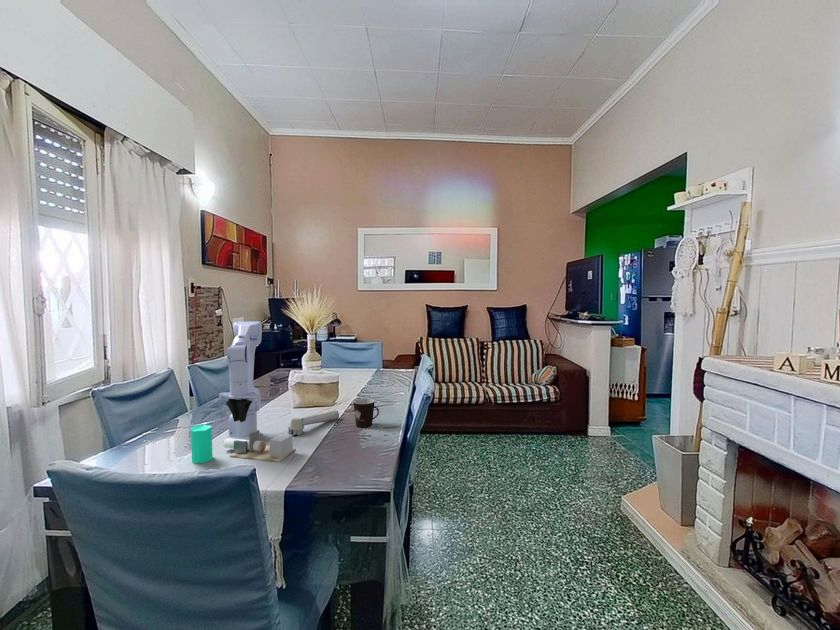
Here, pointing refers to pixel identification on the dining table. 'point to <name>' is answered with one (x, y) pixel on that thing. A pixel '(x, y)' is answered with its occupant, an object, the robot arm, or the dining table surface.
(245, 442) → the grey parallel plates
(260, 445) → the tube
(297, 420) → the grey capped rod
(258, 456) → the board
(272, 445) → the socket
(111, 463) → the dining table surface
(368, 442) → the dining table surface
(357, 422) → the coffee mug
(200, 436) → the candle
